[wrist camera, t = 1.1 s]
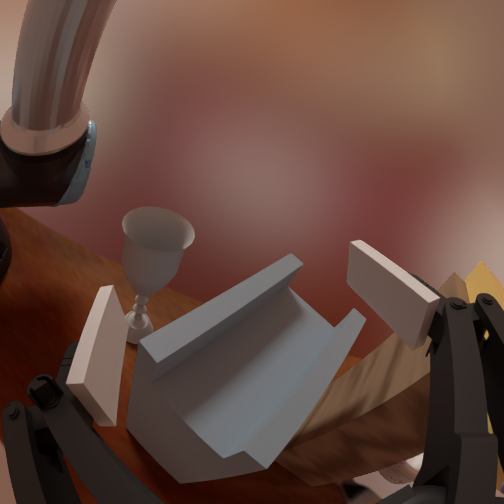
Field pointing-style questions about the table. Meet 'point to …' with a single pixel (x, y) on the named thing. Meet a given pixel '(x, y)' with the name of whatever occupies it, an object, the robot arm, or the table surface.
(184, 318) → the grey u cradle
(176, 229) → the chalice
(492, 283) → the ochre bar
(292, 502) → the table surface
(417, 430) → the walnut pedestal
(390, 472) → the paper bowls
